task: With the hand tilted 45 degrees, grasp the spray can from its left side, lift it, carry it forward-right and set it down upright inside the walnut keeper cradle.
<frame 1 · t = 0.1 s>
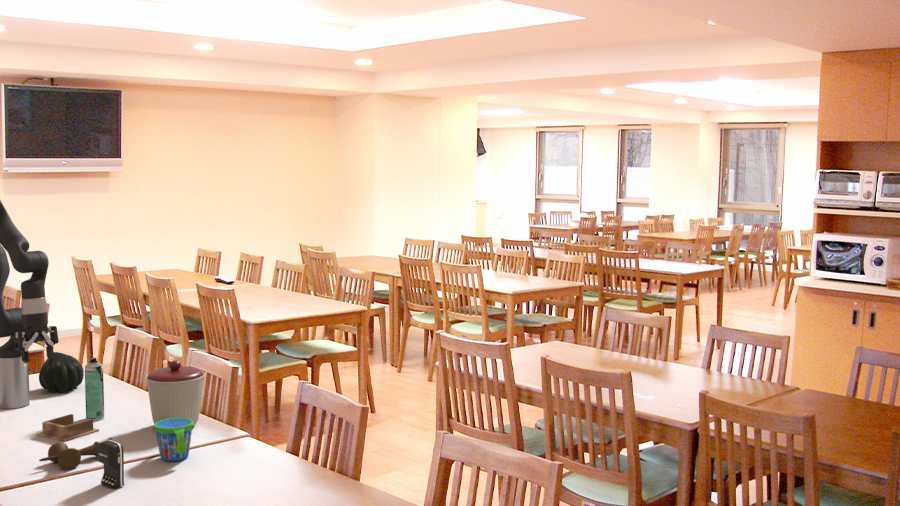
hand: (38, 360, 273), 17 cm above the table, tool pointing down, fingers open, 8 cm apart
spray can: (95, 419, 267), on the table
squash: (61, 390, 301), on the table
canister: (176, 426, 260), on the table
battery: (110, 486, 211), on the table
kendama: (77, 463, 227), on the table
snack cup: (174, 458, 232), on the table
keeper cradle: (69, 433, 252), on the table
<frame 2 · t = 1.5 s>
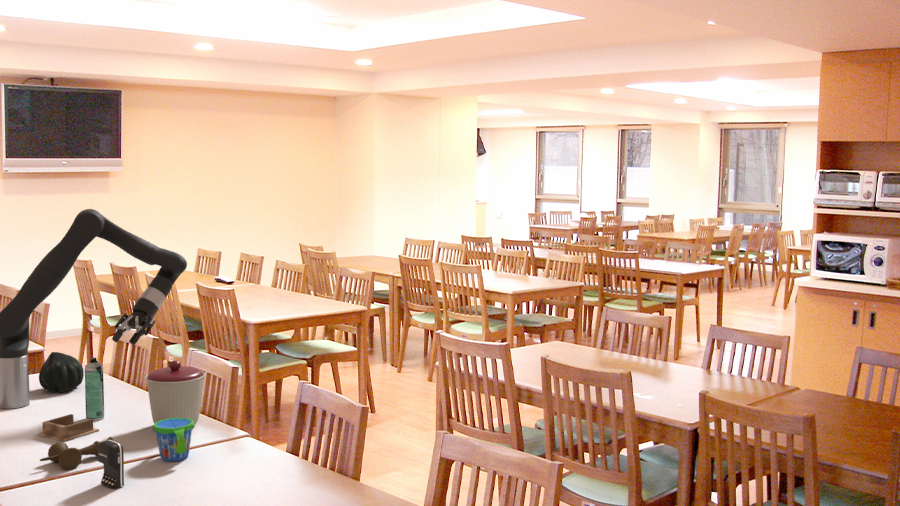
hand: (122, 342, 274), 23 cm above the table, tool tilted 45°, fingers open, 8 cm apart
nothing on the table moved.
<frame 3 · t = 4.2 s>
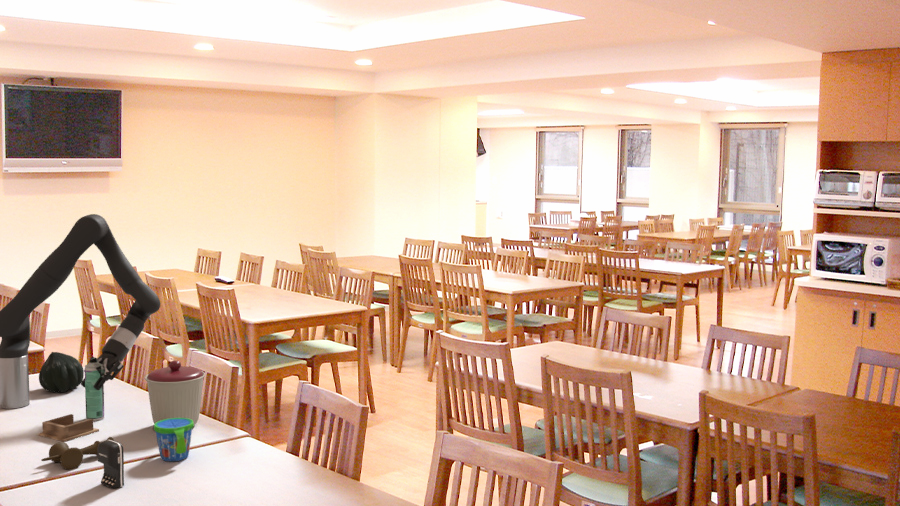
hand: (89, 387, 264), 11 cm above the table, tool tilted 45°, fingers closed on spray can, 5 cm apart
spray can: (95, 419, 267), on the table, touching gripper
everything else where it was.
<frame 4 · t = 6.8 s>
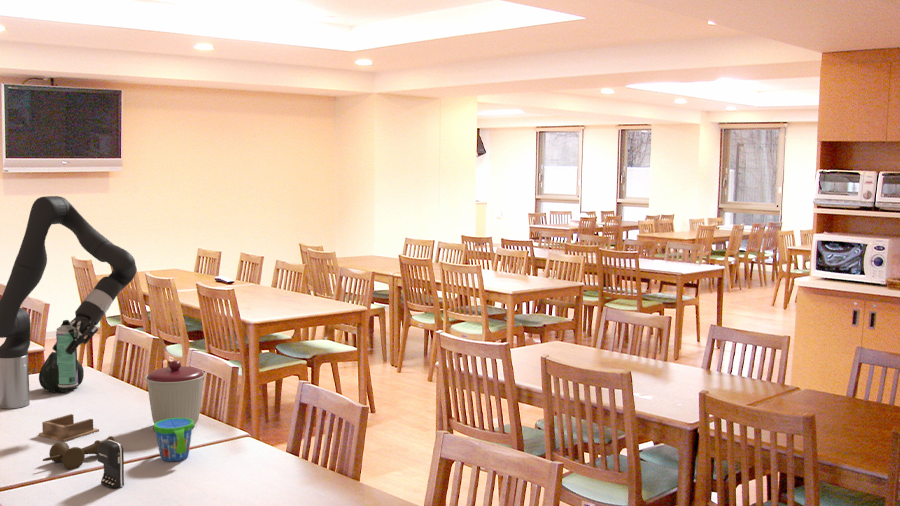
hand: (61, 351, 248), 26 cm above the table, tool tilted 45°, fingers closed on spray can, 5 cm apart
spray can: (68, 385, 251), point 15 cm above the table, touching gripper
everything else where it was.
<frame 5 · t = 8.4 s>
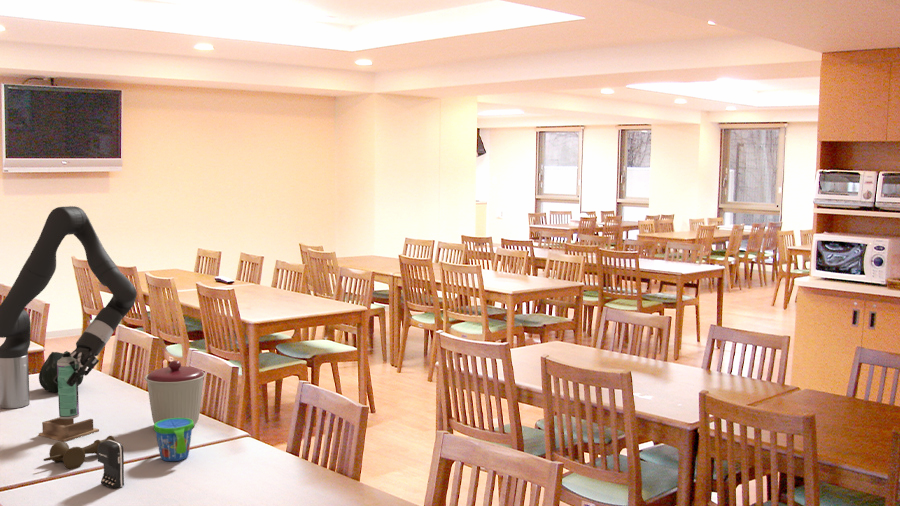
hand: (62, 383, 249), 16 cm above the table, tool tilted 45°, fingers closed on spray can, 5 cm apart
spray can: (69, 417, 251), point 5 cm above the table, touching gripper
when the fingers open (12 cm above the table, at t = 9.7 s): spray can stays where it is, resting on keeper cradle.
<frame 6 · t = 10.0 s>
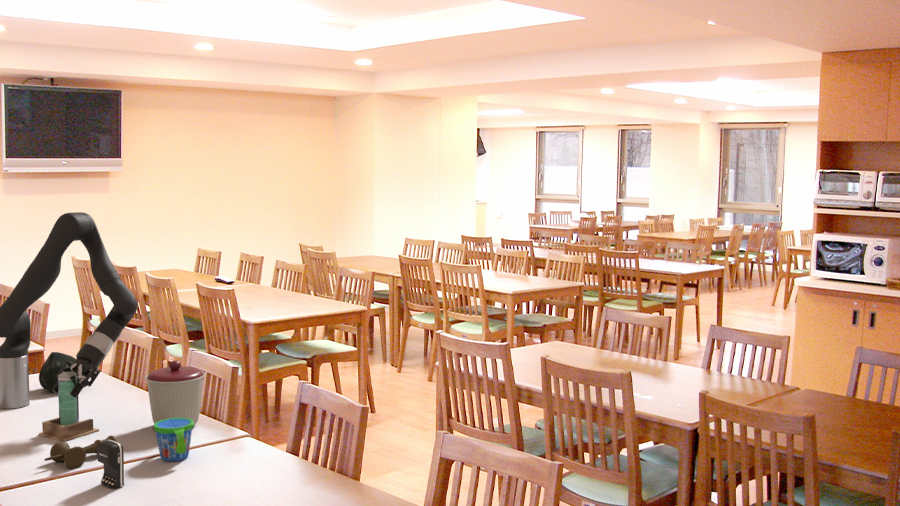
hand: (63, 394, 249), 13 cm above the table, tool tilted 45°, fingers open, 8 cm apart
spray can: (69, 431, 252), resting on keeper cradle
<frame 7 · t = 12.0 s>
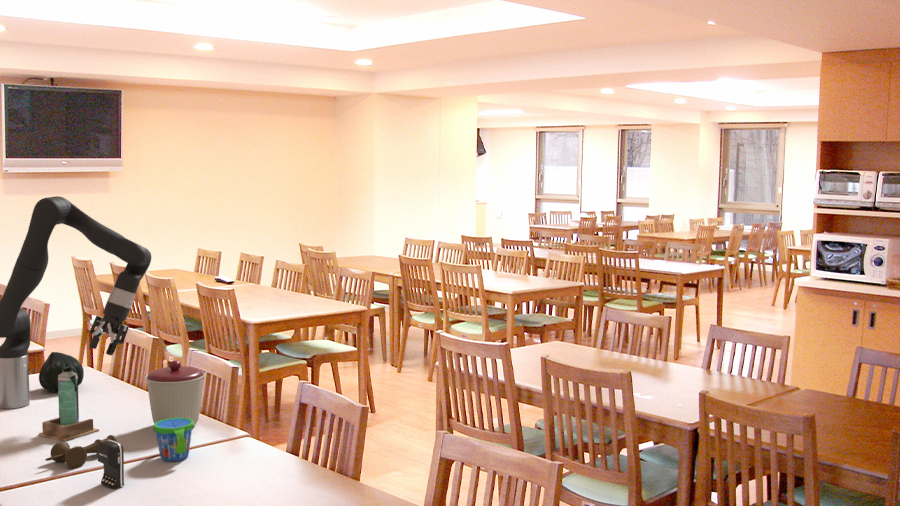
hand: (100, 351, 265), 22 cm above the table, tool tilted 25°, fingers open, 8 cm apart
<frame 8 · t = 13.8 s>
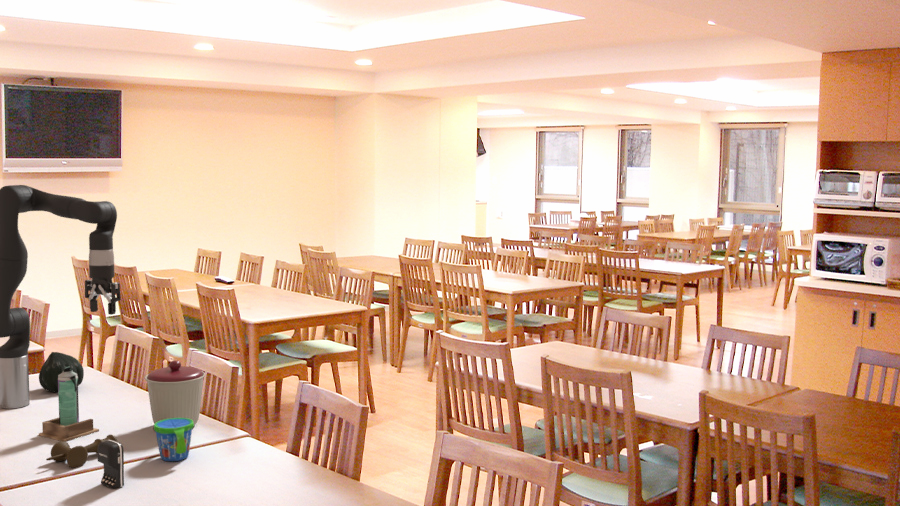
hand: (102, 312, 267), 34 cm above the table, tool pointing down, fingers open, 8 cm apart
at the end: spray can inside the target area on the keeper cradle (0.2 cm from its centre), point 0.4 cm above the keeper cradle's base; spray can tilted 0°; the gripper is holding nothing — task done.
